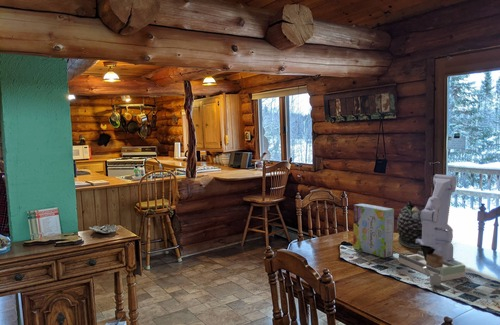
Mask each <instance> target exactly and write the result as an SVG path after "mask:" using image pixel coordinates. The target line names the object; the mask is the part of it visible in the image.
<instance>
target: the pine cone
mask: <svg viewBox="0 0 500 325" xmlns="http://www.w3.org/2000/svg"><path fill="white" fill-rule="evenodd" d="M421 211H422V210H420V209H418V207H417V206H415V205H414V204H413V203H412V202H411V201H410V200H408V201H407V204H405V206H403V208H401V209H400V211H399V212H400V213H398V217H396V218H397V221H396V231H397V234H398V237H397V238H398V242H399V243H400V245H402V246H405V247H407V248H411V249H421V248H420V247H421V246H423V245H421V244H419V243H416V239H422V224H421V218H420V215H421Z"/></svg>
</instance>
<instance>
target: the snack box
mask: <svg viewBox="0 0 500 325" xmlns="http://www.w3.org/2000/svg"><path fill="white" fill-rule="evenodd" d="M394 220H395V208H390V207H385V206H379V205H374V204H367V203H358V204H357V203H356V204H353V234H352V236H353V237H352V239H353V242H352V243H353V245H352V246H353V247H352V249H353V248H354V250H356V249H357V250H356V251H360V252H363V253H366V254H370V255H374V256H377V257H381V258H384V259H385V258H388V257H391V256H394V232H395V231H394V226H395V225H394V224H395V223H394Z"/></svg>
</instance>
